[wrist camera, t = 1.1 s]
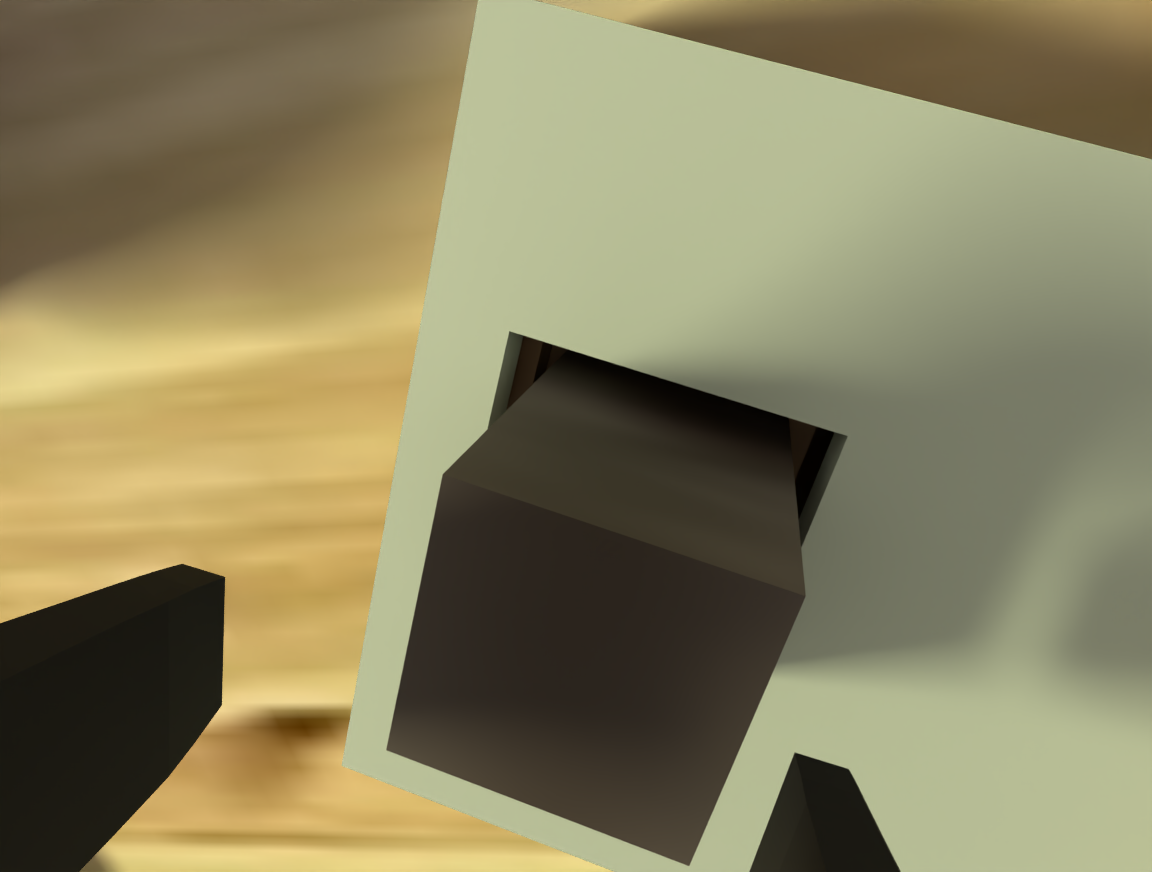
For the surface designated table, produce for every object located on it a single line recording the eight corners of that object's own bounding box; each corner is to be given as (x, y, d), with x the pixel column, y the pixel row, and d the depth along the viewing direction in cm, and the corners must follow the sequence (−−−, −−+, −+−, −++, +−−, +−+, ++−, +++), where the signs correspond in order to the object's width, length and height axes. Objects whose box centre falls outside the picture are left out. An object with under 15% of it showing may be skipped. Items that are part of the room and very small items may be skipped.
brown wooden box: (1567, 302, 14) (1921, 368, 9) (1145, 865, 19) (1254, 1066, 15) (573, 41, 16) (505, 1, 11) (445, 614, 21) (367, 729, 17)
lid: (1932, 370, 9) (2700, 511, 6) (1256, 1072, 15) (1423, 1381, 11) (503, 0, 11) (378, -74, 8) (365, 732, 17) (252, 895, 13)
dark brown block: (788, 416, 14) (806, 595, 8) (716, 606, 15) (689, 866, 10) (568, 348, 14) (442, 474, 9) (520, 538, 16) (386, 750, 10)
